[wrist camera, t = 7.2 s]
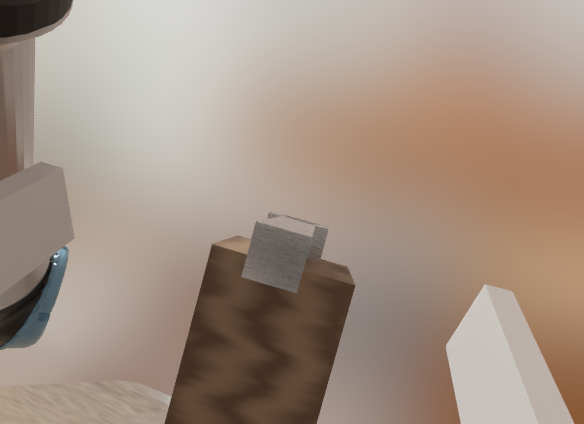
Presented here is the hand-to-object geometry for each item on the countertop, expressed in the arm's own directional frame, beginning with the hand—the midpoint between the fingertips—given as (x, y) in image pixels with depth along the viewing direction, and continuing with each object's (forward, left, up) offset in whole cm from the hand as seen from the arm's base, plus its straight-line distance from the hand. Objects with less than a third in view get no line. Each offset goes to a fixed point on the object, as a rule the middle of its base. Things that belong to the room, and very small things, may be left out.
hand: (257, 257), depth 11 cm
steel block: (-1, +23, -4) cm, 24 cm away
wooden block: (-1, +28, -32) cm, 42 cm away
